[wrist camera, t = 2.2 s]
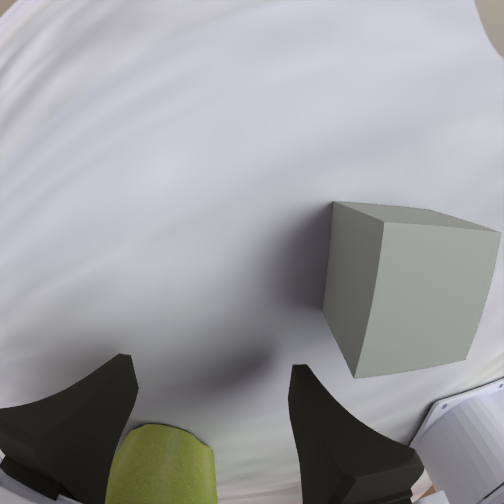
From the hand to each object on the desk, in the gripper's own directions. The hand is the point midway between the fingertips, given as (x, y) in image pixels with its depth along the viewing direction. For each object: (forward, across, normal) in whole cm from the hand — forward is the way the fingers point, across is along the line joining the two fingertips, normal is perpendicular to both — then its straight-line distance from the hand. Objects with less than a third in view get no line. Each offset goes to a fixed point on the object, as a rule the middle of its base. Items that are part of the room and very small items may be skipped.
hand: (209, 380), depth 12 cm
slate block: (+2, -8, -5) cm, 9 cm away
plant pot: (+2, +4, +9) cm, 10 cm away
